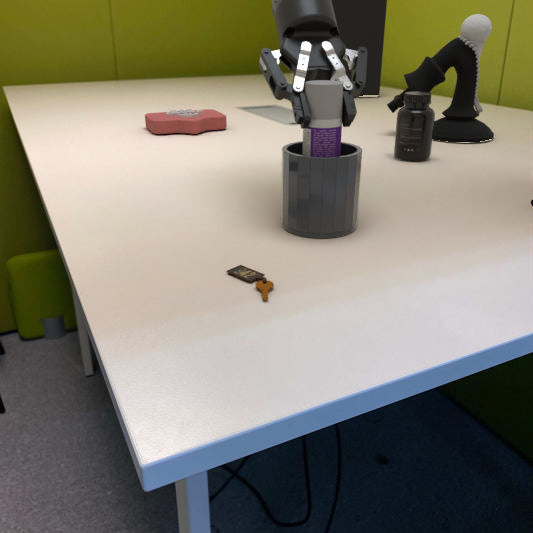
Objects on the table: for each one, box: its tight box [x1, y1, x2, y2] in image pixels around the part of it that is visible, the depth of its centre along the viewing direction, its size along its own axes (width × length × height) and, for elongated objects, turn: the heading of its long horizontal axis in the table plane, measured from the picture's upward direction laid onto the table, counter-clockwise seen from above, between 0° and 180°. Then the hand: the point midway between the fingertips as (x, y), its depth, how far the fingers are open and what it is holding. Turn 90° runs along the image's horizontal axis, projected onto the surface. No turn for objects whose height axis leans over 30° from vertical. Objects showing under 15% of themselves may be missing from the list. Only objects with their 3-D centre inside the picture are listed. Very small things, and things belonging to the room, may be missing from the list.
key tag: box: [226, 264, 275, 301], centre depth 56 cm, size 8×3×1 cm, turn 32°
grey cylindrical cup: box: [280, 140, 363, 239], centre depth 70 cm, size 10×10×10 cm
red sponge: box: [144, 108, 228, 135], centre depth 131 cm, size 18×4×15 cm
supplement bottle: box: [393, 91, 436, 163], centre depth 102 cm, size 7×7×12 cm
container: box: [302, 80, 343, 157], centre depth 68 cm, size 5×5×15 cm
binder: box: [303, 0, 388, 96], centre depth 179 cm, size 27×15×32 cm, turn 89°
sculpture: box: [386, 13, 495, 143], centre depth 118 cm, size 15×24×25 cm, turn 82°
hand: (327, 123), depth 65 cm, fingers closed on container, 4 cm apart
